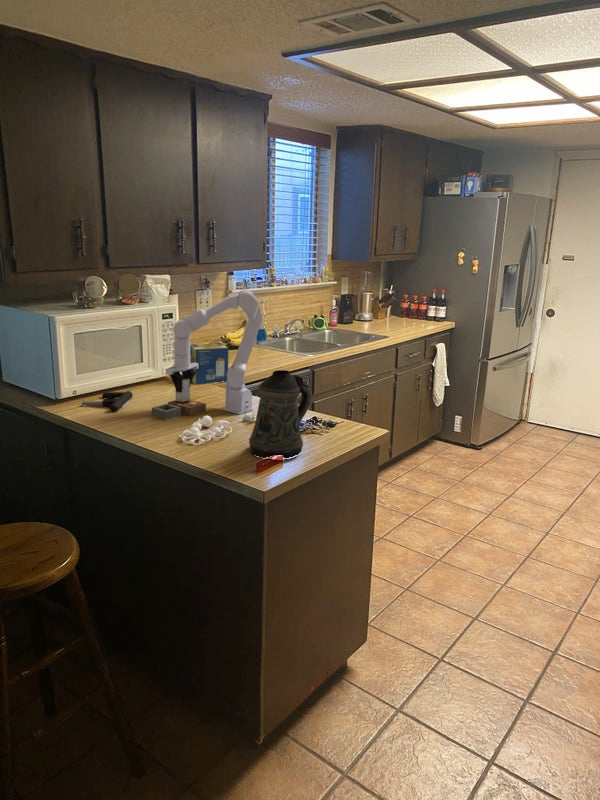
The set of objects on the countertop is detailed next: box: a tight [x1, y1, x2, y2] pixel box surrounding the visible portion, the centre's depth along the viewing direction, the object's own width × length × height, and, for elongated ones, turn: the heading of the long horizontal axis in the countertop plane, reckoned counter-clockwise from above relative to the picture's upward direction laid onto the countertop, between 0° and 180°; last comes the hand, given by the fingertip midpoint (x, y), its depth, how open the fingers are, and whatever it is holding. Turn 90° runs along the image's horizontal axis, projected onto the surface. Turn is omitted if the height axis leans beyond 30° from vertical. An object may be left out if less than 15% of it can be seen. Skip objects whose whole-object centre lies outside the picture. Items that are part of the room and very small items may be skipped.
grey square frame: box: [151, 403, 182, 421], centre depth 214 cm, size 7×7×3 cm
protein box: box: [190, 342, 229, 385], centre depth 262 cm, size 10×15×16 cm
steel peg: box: [175, 377, 191, 402], centre depth 220 cm, size 4×4×8 cm
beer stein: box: [248, 369, 312, 458], centre depth 183 cm, size 16×19×25 cm
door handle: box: [81, 390, 133, 413], centre depth 224 cm, size 3×20×16 cm
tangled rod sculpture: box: [179, 415, 233, 446], centre depth 195 cm, size 19×14×4 cm
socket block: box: [167, 399, 207, 417], centre depth 220 cm, size 11×8×3 cm
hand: (182, 390), depth 220 cm, fingers closed on steel peg, 4 cm apart
